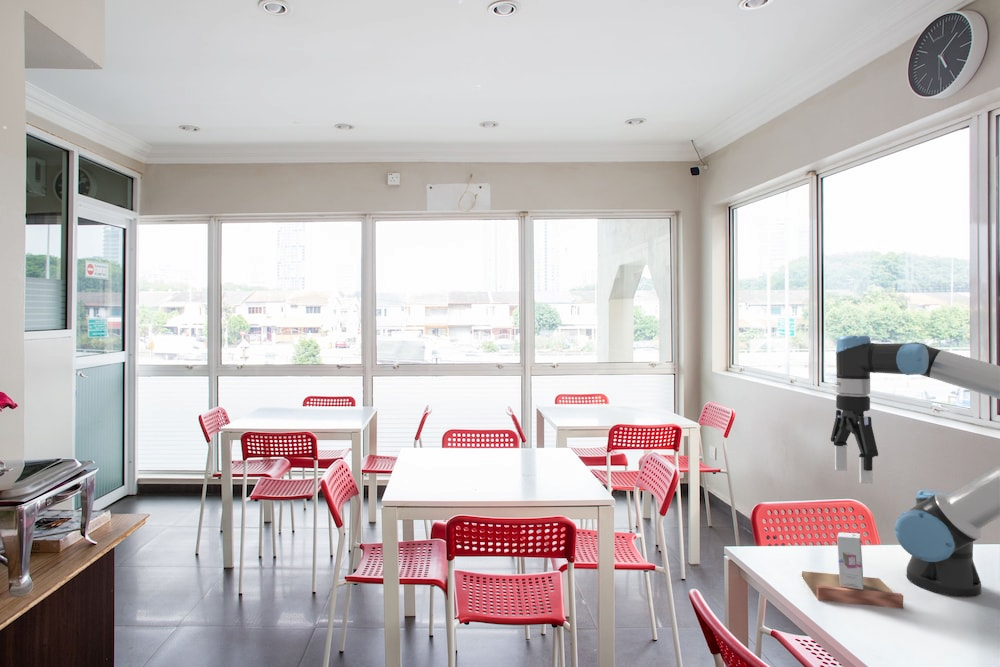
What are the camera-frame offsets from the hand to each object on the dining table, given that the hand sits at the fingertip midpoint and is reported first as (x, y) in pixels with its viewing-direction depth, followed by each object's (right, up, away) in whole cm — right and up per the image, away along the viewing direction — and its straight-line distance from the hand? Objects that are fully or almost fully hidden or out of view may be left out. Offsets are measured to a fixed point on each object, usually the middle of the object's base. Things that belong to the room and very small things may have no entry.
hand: (852, 476), depth 152 cm
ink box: (-6, -24, -10) cm, 27 cm away
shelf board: (-6, -26, -8) cm, 28 cm away
